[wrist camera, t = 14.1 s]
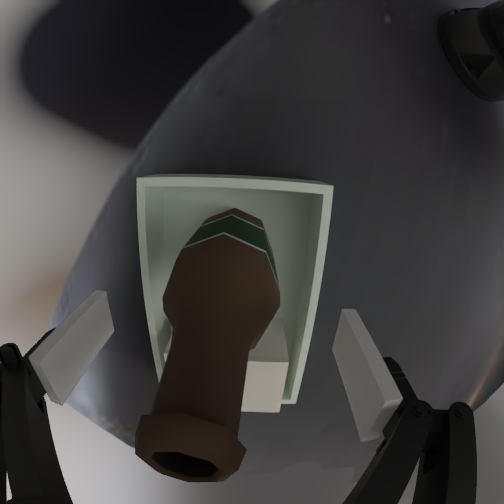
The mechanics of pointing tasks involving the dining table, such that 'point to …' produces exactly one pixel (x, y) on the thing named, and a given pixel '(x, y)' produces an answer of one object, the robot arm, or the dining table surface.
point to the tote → (278, 232)
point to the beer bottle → (210, 348)
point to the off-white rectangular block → (264, 370)
